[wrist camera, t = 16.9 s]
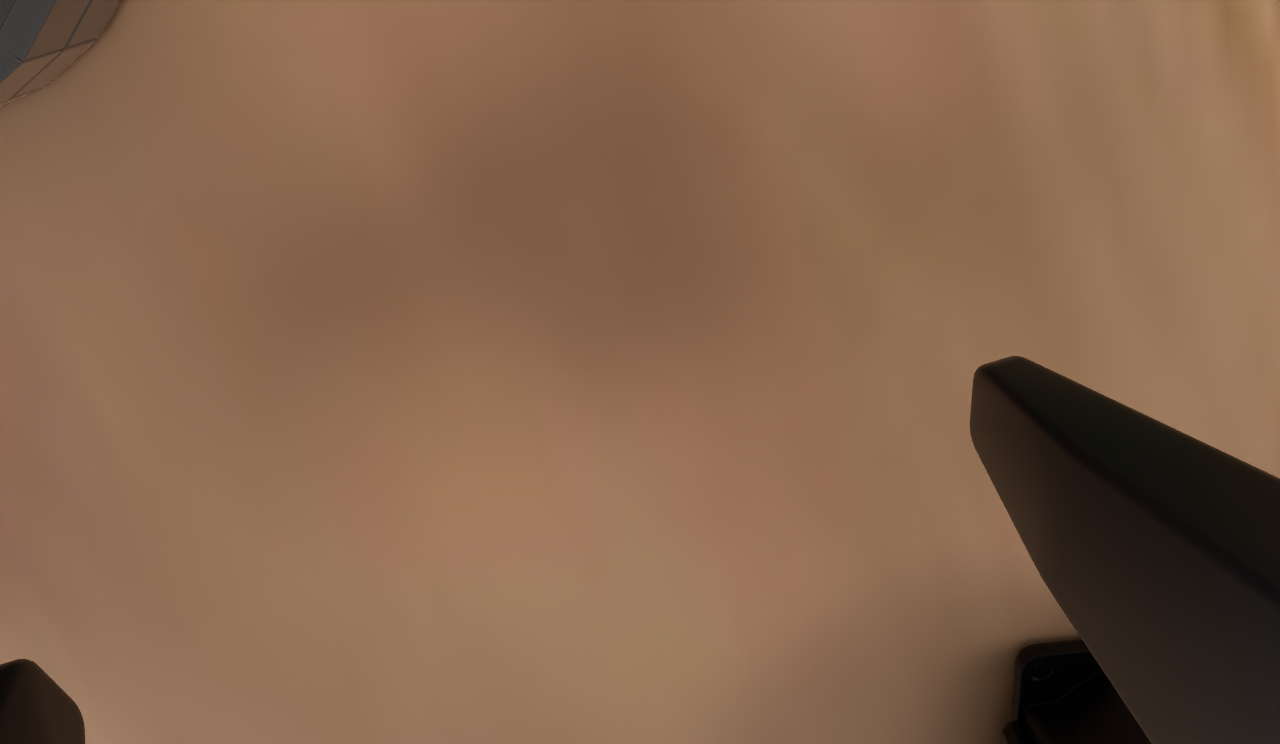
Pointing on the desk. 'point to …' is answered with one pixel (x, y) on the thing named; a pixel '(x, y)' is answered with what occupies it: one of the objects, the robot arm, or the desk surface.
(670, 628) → the desk surface
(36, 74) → the pan
